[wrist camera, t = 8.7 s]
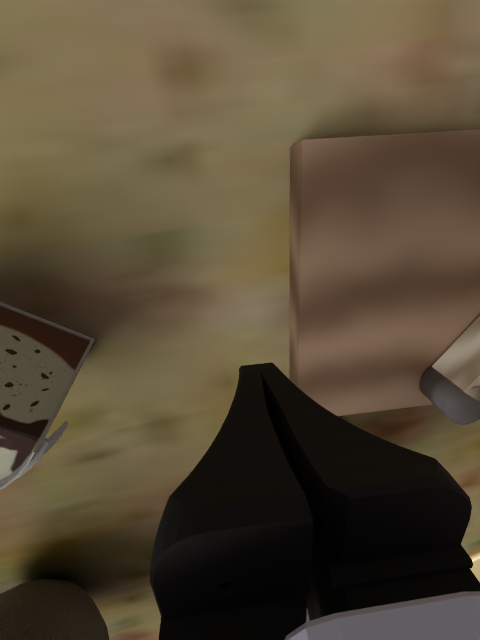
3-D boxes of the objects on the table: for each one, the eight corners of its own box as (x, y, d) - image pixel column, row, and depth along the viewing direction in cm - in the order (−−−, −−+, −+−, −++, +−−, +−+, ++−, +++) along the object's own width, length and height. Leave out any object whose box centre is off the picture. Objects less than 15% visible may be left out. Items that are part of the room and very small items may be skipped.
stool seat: (527, 372, 27) (591, 408, 22) (289, 400, 25) (307, 444, 21) (619, 127, 19) (744, 105, 15) (290, 146, 18) (317, 130, 13)
